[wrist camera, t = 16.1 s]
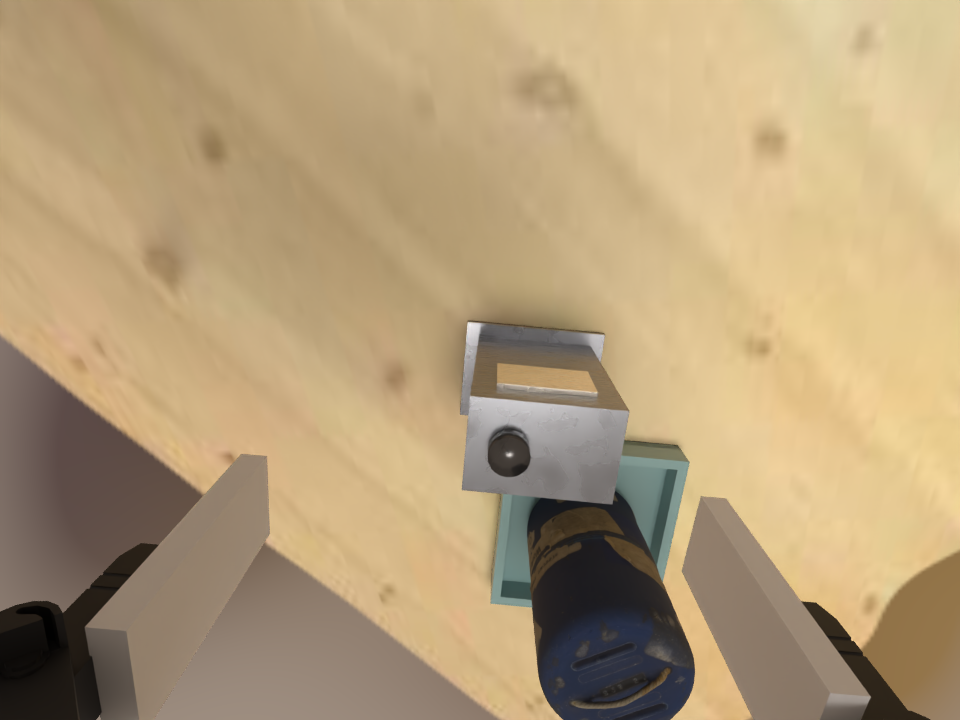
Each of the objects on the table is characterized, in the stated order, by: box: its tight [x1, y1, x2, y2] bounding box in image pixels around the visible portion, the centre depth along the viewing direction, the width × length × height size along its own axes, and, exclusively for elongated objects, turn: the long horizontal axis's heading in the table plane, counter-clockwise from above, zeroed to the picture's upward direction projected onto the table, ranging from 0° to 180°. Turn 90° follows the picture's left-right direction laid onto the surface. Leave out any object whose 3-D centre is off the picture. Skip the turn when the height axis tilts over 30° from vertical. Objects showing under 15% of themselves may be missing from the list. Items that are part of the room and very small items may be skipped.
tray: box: [491, 440, 689, 607], centre depth 48 cm, size 15×16×3 cm
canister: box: [527, 491, 695, 720], centre depth 40 cm, size 10×10×18 cm
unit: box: [460, 321, 629, 504], centre depth 38 cm, size 11×8×16 cm
